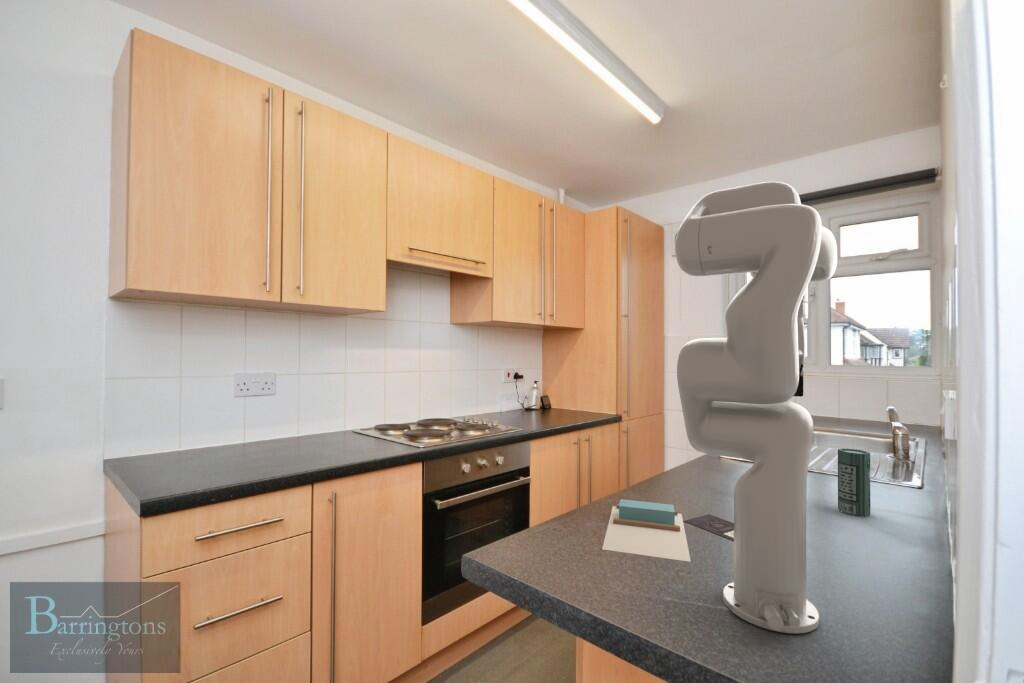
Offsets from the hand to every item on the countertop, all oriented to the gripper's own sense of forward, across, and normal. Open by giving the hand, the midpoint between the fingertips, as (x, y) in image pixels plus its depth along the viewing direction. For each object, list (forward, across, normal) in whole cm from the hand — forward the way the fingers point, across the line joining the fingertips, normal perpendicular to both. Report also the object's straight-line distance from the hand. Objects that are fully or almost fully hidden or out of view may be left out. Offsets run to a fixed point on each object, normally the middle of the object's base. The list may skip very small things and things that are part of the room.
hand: (786, 394), depth 94 cm
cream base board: (+30, +5, -28) cm, 42 cm away
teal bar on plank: (+30, -2, -28) cm, 41 cm away
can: (+31, -25, +21) cm, 45 cm away
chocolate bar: (+31, 0, -10) cm, 33 cm away
